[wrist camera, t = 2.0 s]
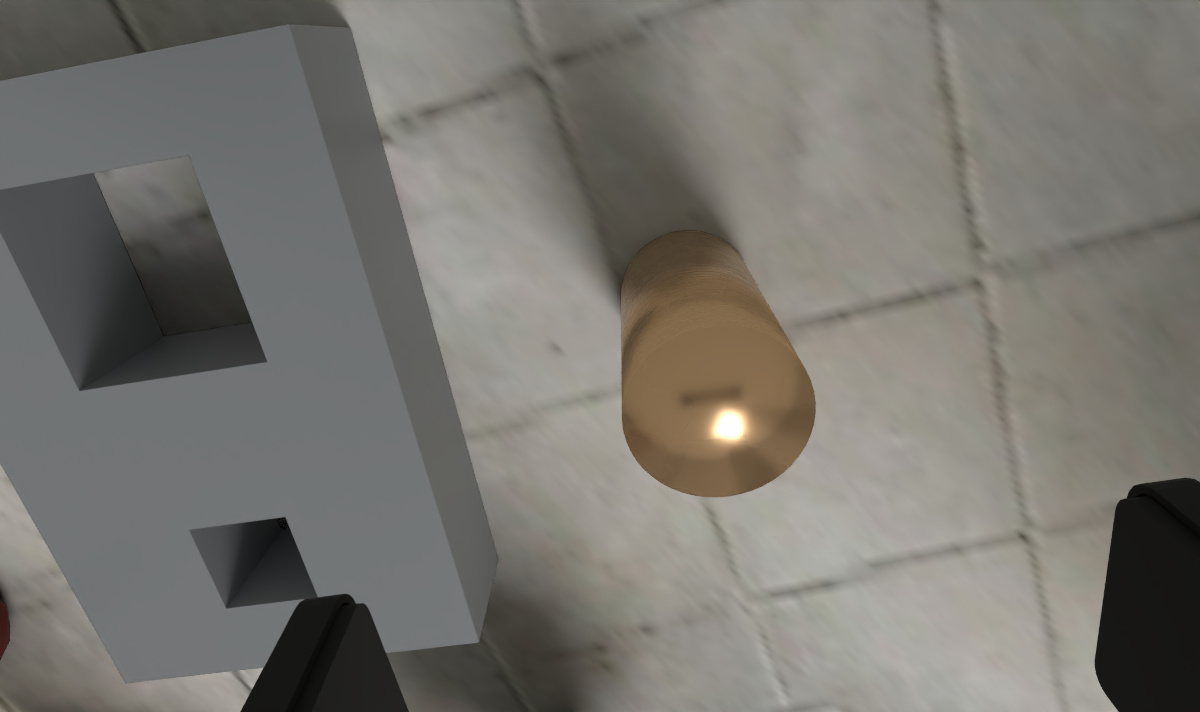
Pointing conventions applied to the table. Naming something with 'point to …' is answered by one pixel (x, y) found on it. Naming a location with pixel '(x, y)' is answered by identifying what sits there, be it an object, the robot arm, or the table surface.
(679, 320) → the tan cylinder
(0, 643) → the cocoa
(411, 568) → the block
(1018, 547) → the table surface
